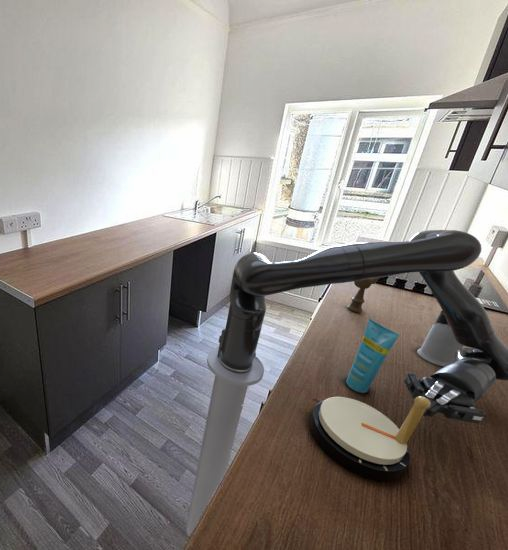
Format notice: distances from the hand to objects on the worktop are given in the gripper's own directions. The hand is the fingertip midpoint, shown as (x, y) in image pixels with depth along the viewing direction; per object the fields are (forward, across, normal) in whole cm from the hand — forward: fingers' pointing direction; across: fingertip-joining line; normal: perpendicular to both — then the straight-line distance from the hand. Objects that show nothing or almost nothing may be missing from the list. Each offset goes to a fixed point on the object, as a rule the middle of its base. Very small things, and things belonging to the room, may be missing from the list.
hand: (422, 410), depth 58 cm
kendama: (-56, -40, +11) cm, 70 cm away
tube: (-11, -15, +11) cm, 22 cm away
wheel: (+7, -6, +8) cm, 12 cm away
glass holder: (-51, -10, +11) cm, 53 cm away
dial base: (+7, -6, +11) cm, 14 cm away
